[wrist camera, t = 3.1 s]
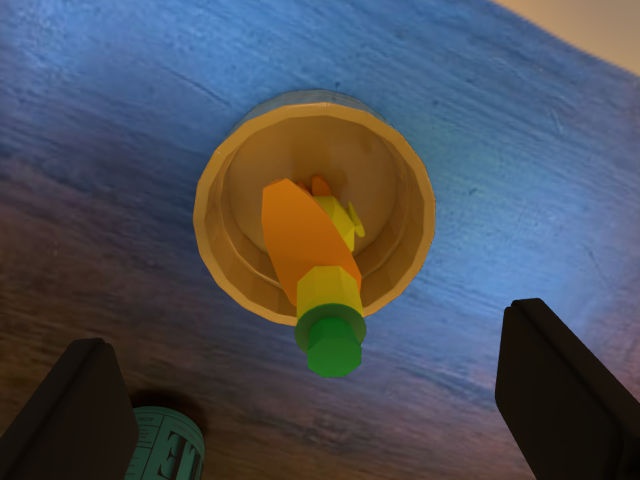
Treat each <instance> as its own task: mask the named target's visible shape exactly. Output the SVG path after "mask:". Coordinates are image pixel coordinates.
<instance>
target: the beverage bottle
mask: <svg viewBox="0 0 640 480" xmlns="http://www.w3.org/2000/svg"><path fill="white" fill-rule="evenodd" d="M133 411H134V414H135V417H136V420H137V423H138V426H139V440H138V444H137V446H136V449H135V451H134V454H133V456H132V459H131V462H130V464H129V467H128V469H127V472H126V474H125V477H124V480H201V479H202V477H201V474H202V472H203V471H202V469H203V467H204V466H203V458H204V460H205V455H204V451H205V450H206V448H205V449H204V446H205V445H204V440H203V436H202V433H201V431H200V430H199V428H198V427H197V425H196V424H195V423H194V422H193V421H192V420H191V419H189V418H188V417H187V416H185V415H183V414H182V413H180V412H177V411H175V410H172V409H169V408H164V407H157V406H144V407H138V408H134V409H133ZM205 461H206V460H205ZM204 464H205V463H204ZM199 475H200V477H199Z"/></svg>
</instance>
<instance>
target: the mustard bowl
mask: <svg viewBox="0 0 640 480" xmlns="http://www.w3.org/2000/svg"><path fill="white" fill-rule="evenodd" d="M318 174H321V175H322V176H323V177H324V179H325V180H326V181H327V182H328V184H329V186H330V189H331V194H332V196H334V197H335V198H336V199H337V200H338V201H339V202H340V203H341V204H342V205H343V206H344V207H345V208H346V209H348V200H349V201H350V202H351V204H352V206H353V207H354V209H355V211H356V213H357V215H358V217H359V219H360V221H361V223H362V226H363V228H364V231H365V235H364V237H359V236H358V235H357V234H356V232H355V230H354V250H353V251H352V252H351V253H352V256H353V258H354V260H355V262H356V265H357V267H358V269H359V271H360V273H361V276H362V279H361V288H360V299H361V303H362V308H363V317H366V316H369V315H371V314H373V313H375V312H377V311H378V310H380V309H381V308H382V307H384V306H385V305H387V304H388V303H389V302H391V301H392V300H394V299H395V298H396V297H398V296H399V295H400V294H401V293H402V292H403V291H404V290H405V289H406V287H407V286H408V285H409V283H410V282H411V281H412V280H413V278H414V277H415V276H416V275H417V273H418V272H419V271H420V270H421V268H422V266H423V264H424V261H425V259H426V256H427V253H428V251H429V248H430V245H431V243H432V240H433V238H434V234H435V208H436V200H435V195H434V192H433V189H432V186H431V183H430V180H429V176H428V173H427V170H426V167H425V165H424V163H423V162H422V160H421V159H420V158H419V156H418V155H417V154H416V152H415V151H414V150H413V149H412V147H411V146H410V145H409V143H408V142H407V141H406V139H405V138H404V137H403V135H402V134H401V133H400V132H399V131H397V130H396V129H395V128H394V127H393V126H392V125H391V124H390V123H389V122H388V121H387V120H386V119H385V118H384V117H383V116H382V115H381V114H379V113H378V112H376V111H375V110H373V109H372V108H370V107H369V106H367V105H366V104H364V103H362V102H361V101H359V100H358V99H356V98H354V97H352V96H348V95H344V94H340V93H336V92H332V91H328V90H324V89H322V90H321V89H313V90H301V91H289V92H285V93H283V94H281V95H279V96H276V97H274V98H272V99H269V100H267V101H265V102H263V103H260V104H258V105H257V106H255V107H254V108H253V109H252V110H251V111H250V112H249V113H247V114H246V115H245V116H244V117H243V118H242V119H241V120H240V121H239V122H238V123H237V124H236V125H234V126H233V128H232V129H231V130H230V132H229V133H228V134H227V135H226V137H225V138H224V139H223V140H222V142H221V143H220V144H219V146H218V147H217V148H216V150H215V151H214V153H213V155H212V157H211V159H210V161H209V162H208V164H207V166H206V168H205V170H204V172H203V174H202V176H201V178H200V179H199V181H198V184H197V190H196V198H195V205H194V212H193V225H194V229H195V234H196V239H197V244H198V249H199V253H200V256H201V257H202V259H203V261H204V263H205V264H206V266H207V268H208V269H209V271H210V273H211V275H212V276H213V278H214V280H215V281H216V283H217V284H218V285H219V286H220V287H221V288H222V289H223V290H224V291H225V292H226V293H227V294H228V295H230V296H231V297H232V298H233V299H234V300H235V301H236V302H237V303H238V304H240V305H241V306H242V307H243V308H245V309H247V310H249V311H251V312H253V313H255V314H258V315H260V316H262V317H264V318H266V319H268V320H270V321H272V322H273V321H274V322H275V323H281V324H286V325H292V326H296V324H297V307H296V306H294V305H292V304H291V302H290V301H289V299H288V297H287V295H286V293H285V291H284V289H283V287H282V285H281V284H280V282H279V280H278V277H277V275H276V272H275V269H274V267H273V264H272V261H271V259H270V256H269V253H268V251H267V248H266V245H265V240H264V233H263V226H262V219H261V217H262V200H263V188H265V187H266V186H267V185H269V184H270V183H272V182H273V181H274V180H276V179H286V178H287V179H289V180H290V181H292V182H293V183H295V184H296V183H298V182H300V181H301V182H302V183H303V184H304V185H305V186H306V187H308V188H309V189H310V191H311V193H312V180H311V177H313V176H316V175H318ZM312 195H313V193H312ZM313 196H314V195H313Z"/></svg>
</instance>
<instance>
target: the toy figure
mask: <svg viewBox="0 0 640 480" xmlns="http://www.w3.org/2000/svg"><path fill="white" fill-rule="evenodd" d="M311 180H312V193H313V195H314V196H313V195H312V193H311V191H310V189H309V188H308V187H306V186H305V185H304V184H303V183H302V182H301V181H300V182H298V183H296V184H295V183H293V182H292V181H290V180H289V179H287V178H286V179H276V180H274V181H273V182H272V183H270V184H269V185H267V186H266V187H265V188H263V200H262V217H261V219H262V226H263V233H264V240H265V245H266V248H267V251H268V253H269V256H270V259H271V261H272V264H273V267H274V269H275V272H276V275H277V277H278V280H279V282H280V284H281V285H282V287H283V289H284V291H285V293H286V295H287V297H288V299H289V301H290V302H291V304H292V305H294V306H296V307H297V324H296V327H295V340H296V342H297V345H298V346H299V347H300V349H301V350H302V351H303V352H305V353H306V354H308V368H309V369H311V370H313V371H314V372H316V373H317V374H319V375H320V376H322V377H323V378H324V377H340V376H346V375H347V374H348V373H350V372H351V371H352V370H354V369H355V368H356V367H358V366H359V365H360V364H361V350H362V348H361V346H360V345H361V344H362V342H363V340H364V338H365V335H366V324H365V321H364V319H363V308H362V303H361V299H360V288H361V279H362V276H361V273H360V271H359V269H358V267H357V265H356V262H355V260H354V258H353V256H352V253H351V252H352V251H353V250H354V230H355V232H356V234H357V235H358V236H359V237H364V235H365V231H364V228H363V226H362V223H361V221H360V219H359V217H358V215H357V213H356V211H355V209H354V207H353V206H352V204H351V202H350V201H349V200H348V209H346V208H345V207H344V206H343V205H342V204H341V203H340V202H339V201H338V200H337V199H336V198H335V197H334V196H332V194H331V189H330V186H329V184H328V182H327V181H326V180H325V179H324V177H323V176H322V175H321V174H318V175H316V176H313V177H311Z"/></svg>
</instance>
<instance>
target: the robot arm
mask: <svg viewBox="0 0 640 480" xmlns="http://www.w3.org/2000/svg"><path fill="white" fill-rule="evenodd" d="M495 400H496V404H497V407H498V409H499V411H500V413H501V415H502V417H503V419H504V420H505V422H506V424H507V426H508V428H509V430H510V431H511V433H512V435H513V437H514V439H515V441H516V442H517V444H518V446H519V448H520V450H521V452H522V453H523V455H524V457H525V459H526V461H527V463H528V464H529V466H530V468H531V470H532V472H533V474H534V475H535V477H536V479H537V480H640V403H639V402H638V401H637V400H636V399H635V398H634V397H633V396H632V395H631V394H630V392H629V391H628V390H627V389H626V388H625V387H624V386H623V385H622V384H621V383H620V382H619V381H618V380H617V379H616V378H615V377H614V376H613V374H612V373H611V372H610V371H609V370H608V369H607V368H606V367H605V366H604V365H603V364H602V363H601V362H600V361H599V360H598V359H597V357H596V356H594V354H593V353H592V352H591V351H590V350H589V349H588V348H587V347H586V346H585V345H584V344H583V343H582V342H581V341H580V340H579V339H578V338H577V336H576V335H575V334H574V333H573V332H572V331H571V330H570V329H569V328H568V327H567V326H566V325H565V324H564V323H563V322H562V321H561V319H560V318H559V317H558V316H557V315H556V314H555V313H554V312H553V311H552V310H551V309H550V308H549V307H548V306H547V305H546V304H545V303H544V301H543V300H541V299H540V298H532V299H521V300H514V301H513V302H512V304H511V307H506V308H505V310H504V317H503V326H502V334H501V343H500V352H499V361H498V369H497V378H496V387H495ZM138 440H139V426H138V423H137V420H136V417H135V414H134V411H133V408H132V405H131V402H130V399H129V396H128V393H127V389H126V386H125V383H124V380H123V377H122V374H121V371H120V368H119V365H118V362H117V359H116V356H115V353H114V350H113V347H112V345H111V344H109V343H105V342H104V340H103V339H102V338H91V339H80V340H74V341H73V342H72V343H71V344H70V345H69V346H68V348H67V349H66V350H65V352H64V353H63V354H62V356H61V357H60V359H59V360H58V361H57V363H56V364H55V365H54V367H53V368H52V369H51V371H50V372H49V373H48V375H47V376H46V378H45V379H44V380H43V382H42V383H41V384H40V386H39V387H38V388H37V390H36V391H35V392H34V394H33V395H32V397H31V398H30V399H29V401H28V402H27V403H26V405H25V406H24V407H23V409H22V410H21V411H20V413H19V414H18V416H17V417H16V418H15V420H14V421H13V422H12V424H11V425H10V426H9V428H8V429H7V430H6V432H5V433H4V434H3V436H2V437H1V439H0V480H124V477H125V474H126V472H127V469H128V467H129V464H130V462H131V459H132V456H133V454H134V451H135V449H136V446H137V444H138Z"/></svg>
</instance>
